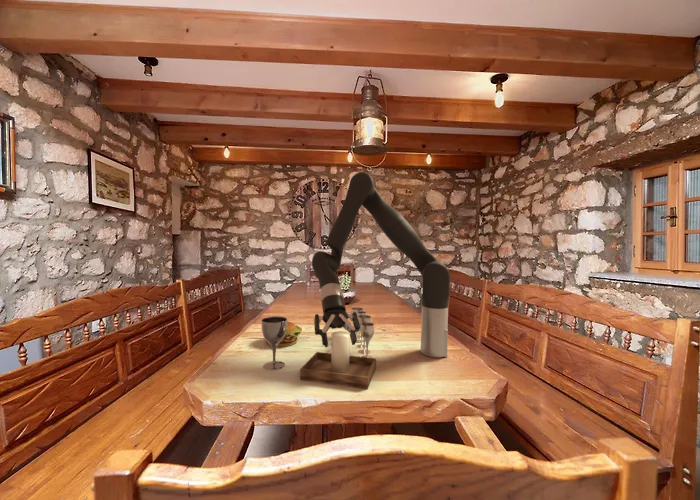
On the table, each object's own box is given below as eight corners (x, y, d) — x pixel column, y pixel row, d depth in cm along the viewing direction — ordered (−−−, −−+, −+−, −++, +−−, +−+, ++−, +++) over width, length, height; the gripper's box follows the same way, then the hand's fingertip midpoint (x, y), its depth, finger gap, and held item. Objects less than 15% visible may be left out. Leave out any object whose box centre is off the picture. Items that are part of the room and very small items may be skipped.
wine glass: (291, 362, 102) (291, 317, 101) (278, 372, 94) (278, 323, 94) (270, 359, 104) (270, 315, 104) (256, 368, 97) (256, 321, 96)
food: (284, 351, 112) (284, 329, 112) (257, 344, 119) (257, 323, 119) (308, 341, 124) (309, 321, 123) (283, 334, 131) (283, 316, 131)
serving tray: (376, 368, 98) (376, 358, 98) (367, 389, 85) (367, 377, 85) (316, 361, 103) (316, 351, 103) (300, 379, 90) (300, 369, 90)
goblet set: (376, 360, 105) (377, 322, 104) (359, 361, 104) (360, 322, 104) (362, 334, 133) (362, 304, 132) (349, 335, 132) (349, 304, 131)
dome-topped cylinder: (351, 367, 96) (352, 332, 96) (346, 374, 91) (347, 337, 90) (334, 365, 97) (334, 330, 97) (328, 372, 92) (329, 335, 92)
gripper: (312, 294, 100) (318, 341, 89) (355, 292, 103) (365, 337, 93) (310, 307, 105) (315, 352, 94) (350, 305, 109) (360, 348, 98)
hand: (340, 344), depth 94 cm, fingers open, 8 cm apart
